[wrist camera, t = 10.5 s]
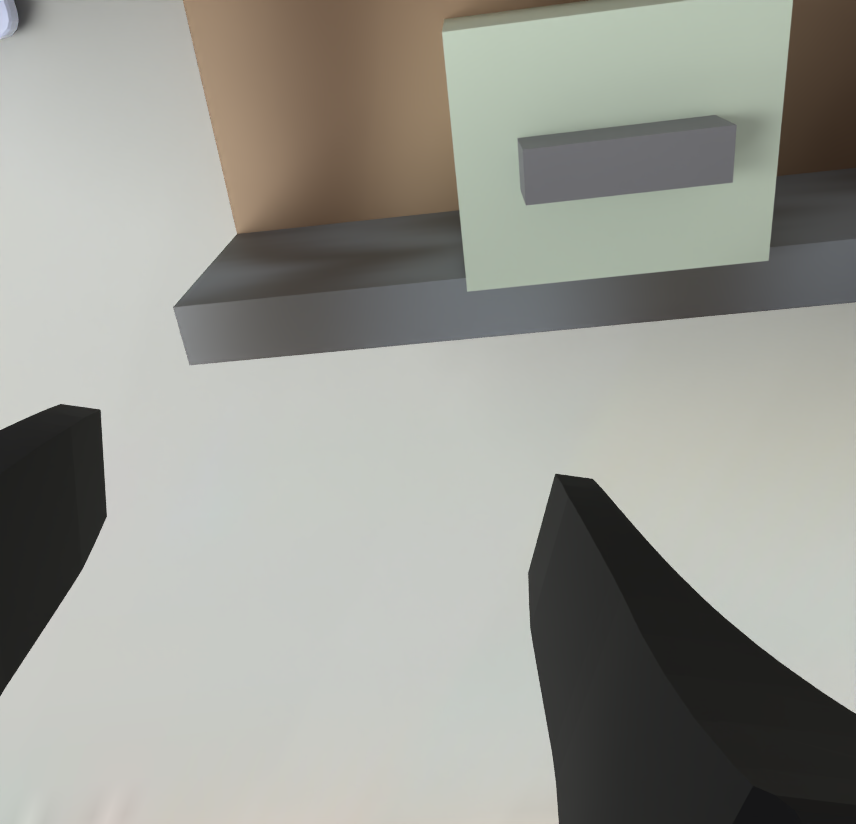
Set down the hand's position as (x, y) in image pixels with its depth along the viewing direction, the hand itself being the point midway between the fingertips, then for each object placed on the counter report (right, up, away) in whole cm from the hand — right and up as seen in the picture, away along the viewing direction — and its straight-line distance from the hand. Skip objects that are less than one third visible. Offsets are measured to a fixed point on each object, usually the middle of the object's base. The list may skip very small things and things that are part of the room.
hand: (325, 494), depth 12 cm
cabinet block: (+5, +8, +5) cm, 11 cm away
